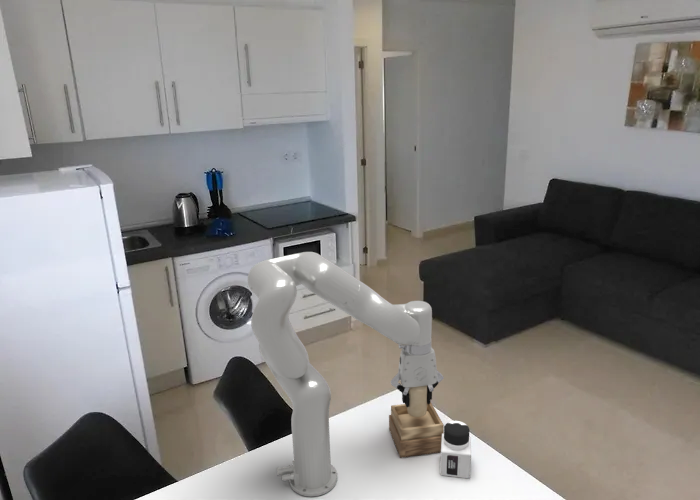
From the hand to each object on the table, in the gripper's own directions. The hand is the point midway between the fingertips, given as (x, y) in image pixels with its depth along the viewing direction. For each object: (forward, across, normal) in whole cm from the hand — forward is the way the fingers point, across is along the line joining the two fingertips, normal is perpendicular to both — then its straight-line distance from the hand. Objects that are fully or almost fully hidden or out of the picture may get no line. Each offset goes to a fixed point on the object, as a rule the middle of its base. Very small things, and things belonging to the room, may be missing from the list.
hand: (417, 402), depth 148 cm
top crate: (+8, 0, 0) cm, 8 cm away
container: (+13, +7, -13) cm, 20 cm away
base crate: (+13, 0, 0) cm, 13 cm away
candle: (+3, 0, 0) cm, 3 cm away
